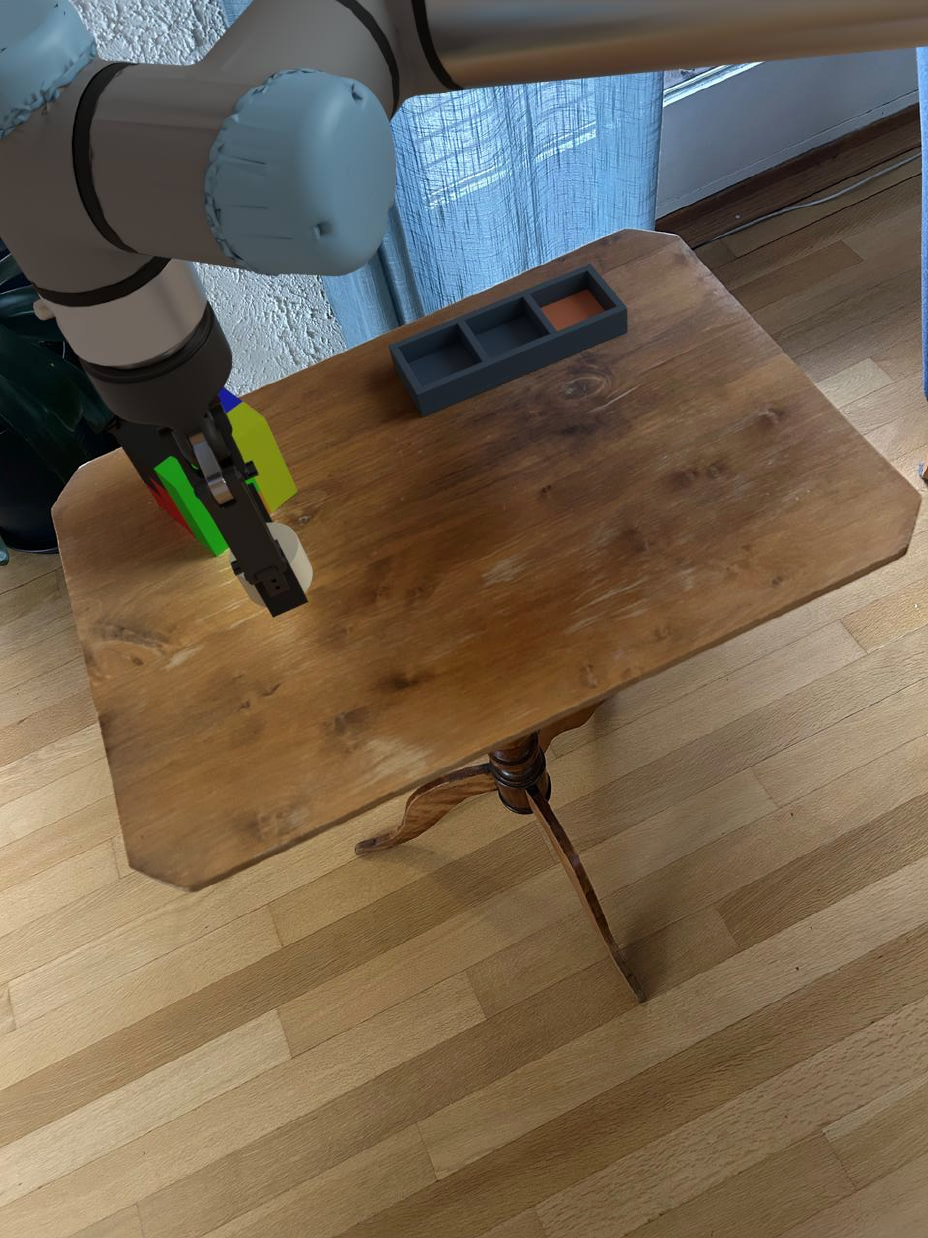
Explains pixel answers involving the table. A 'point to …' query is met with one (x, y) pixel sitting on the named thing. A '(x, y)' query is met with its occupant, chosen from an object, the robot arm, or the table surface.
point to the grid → (508, 339)
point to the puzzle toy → (172, 482)
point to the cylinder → (293, 555)
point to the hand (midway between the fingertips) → (277, 577)
